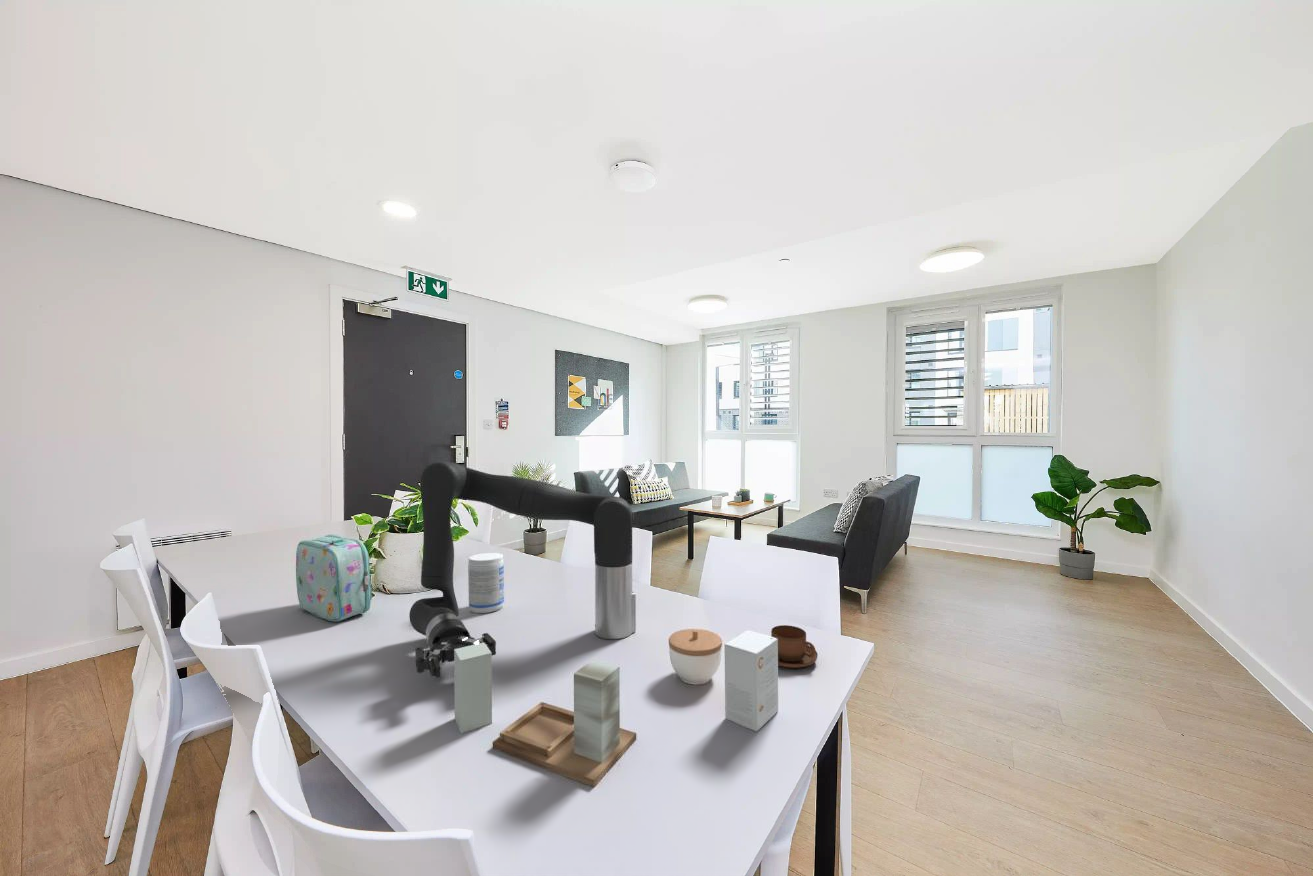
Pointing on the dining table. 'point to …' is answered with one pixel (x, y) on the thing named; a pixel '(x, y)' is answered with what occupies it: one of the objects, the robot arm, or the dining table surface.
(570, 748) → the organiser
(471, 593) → the supplement tub
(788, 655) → the cup and saucer
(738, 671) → the small box
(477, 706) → the sage block
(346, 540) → the lunch box
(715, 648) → the lidded jar
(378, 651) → the dining table surface
